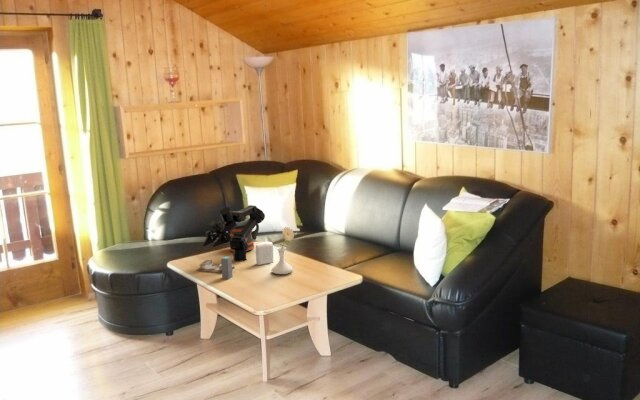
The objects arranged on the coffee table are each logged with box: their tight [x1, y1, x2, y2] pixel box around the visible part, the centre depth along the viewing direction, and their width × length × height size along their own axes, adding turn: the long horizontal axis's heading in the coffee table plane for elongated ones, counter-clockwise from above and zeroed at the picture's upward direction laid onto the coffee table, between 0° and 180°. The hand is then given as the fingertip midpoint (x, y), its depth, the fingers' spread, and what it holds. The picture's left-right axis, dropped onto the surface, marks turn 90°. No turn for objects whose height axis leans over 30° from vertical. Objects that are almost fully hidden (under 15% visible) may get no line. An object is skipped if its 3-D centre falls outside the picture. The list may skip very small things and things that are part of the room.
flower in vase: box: [271, 226, 295, 275], centre depth 318 cm, size 13×11×25 cm
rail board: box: [196, 259, 235, 274], centre depth 328 cm, size 18×10×4 cm, turn 70°
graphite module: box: [220, 255, 233, 280], centre depth 313 cm, size 4×4×11 cm
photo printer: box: [255, 241, 274, 266], centre depth 336 cm, size 10×4×12 cm, turn 123°
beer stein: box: [229, 217, 260, 253], centre depth 364 cm, size 19×15×20 cm
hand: (208, 245), depth 322 cm, fingers open, 9 cm apart
